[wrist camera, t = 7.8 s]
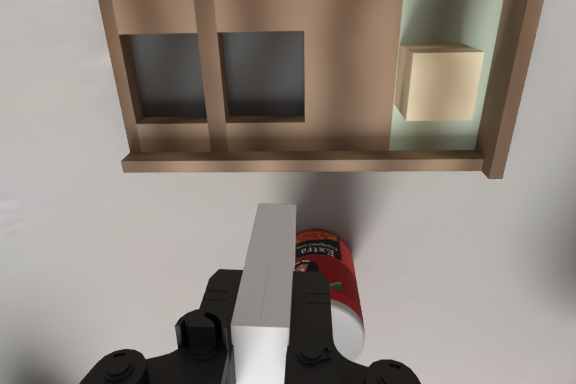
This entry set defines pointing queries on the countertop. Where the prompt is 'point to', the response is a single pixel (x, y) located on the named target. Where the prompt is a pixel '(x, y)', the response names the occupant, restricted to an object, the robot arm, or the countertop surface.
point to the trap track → (308, 83)
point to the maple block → (437, 81)
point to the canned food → (335, 286)
